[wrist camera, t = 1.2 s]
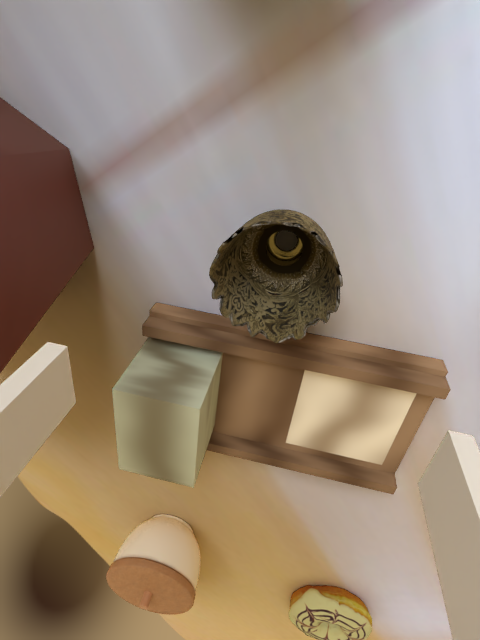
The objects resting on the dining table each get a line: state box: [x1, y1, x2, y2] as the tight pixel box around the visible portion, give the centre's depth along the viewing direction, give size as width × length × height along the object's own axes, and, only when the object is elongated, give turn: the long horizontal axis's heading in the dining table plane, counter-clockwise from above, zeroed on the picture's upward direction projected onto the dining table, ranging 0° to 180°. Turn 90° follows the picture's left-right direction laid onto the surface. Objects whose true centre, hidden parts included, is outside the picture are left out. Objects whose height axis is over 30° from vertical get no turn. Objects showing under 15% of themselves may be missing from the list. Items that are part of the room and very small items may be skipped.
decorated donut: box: [289, 585, 372, 640], centre depth 52 cm, size 10×11×4 cm
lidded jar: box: [107, 514, 201, 614], centre depth 48 cm, size 11×11×9 cm
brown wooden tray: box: [112, 303, 450, 494], centre depth 32 cm, size 24×14×8 cm, turn 83°
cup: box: [209, 210, 343, 343], centre depth 25 cm, size 8×7×8 cm
